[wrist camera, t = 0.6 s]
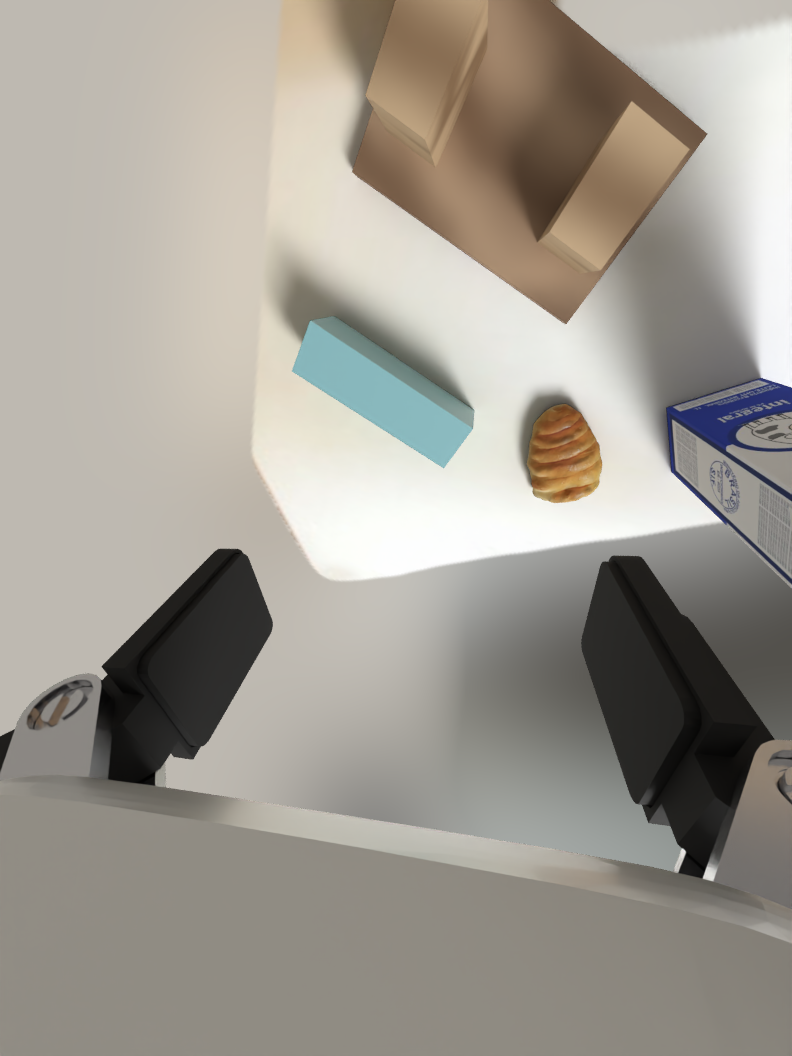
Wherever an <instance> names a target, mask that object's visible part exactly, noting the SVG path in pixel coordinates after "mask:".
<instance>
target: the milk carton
mask: <svg viewBox="0 0 792 1056" xmlns="http://www.w3.org/2000/svg"><path fill="white" fill-rule="evenodd" d="M666 410H667V422H668V435H669V447H670V459H671V471H672V473H673V474H674V475H675V476H676V477H677V478H678V479H679V480H680V481H681V482H682V483H683V484H684V485H686V486H687V487H688V488H689V489H690V490H691V491H692V492H693V493H694V494H695V495H696V496H697V497H698V498H699V499H700V500H701V501H702V502H703V503H704V504H705V505H706V506H707V507H708V508H709V509H710V510H711V511H712V512H713V513H714V514H715V515H717V516H718V517H719V518H720V519H721V520H722V521H723V522H724V523H725V524H726V525H727V526H728V527H729V528H730V529H731V530H732V531H733V532H734V533H735V534H736V535H737V536H738V537H739V538H740V539H741V540H742V541H743V542H744V543H746V545H748V546H749V547H750V548H751V549H752V550H753V551H754V552H755V553H756V554H757V555H758V556H759V557H760V558H761V559H762V560H763V561H764V562H765V563H766V564H767V565H768V566H769V567H770V568H771V569H772V570H773V571H774V572H776V574H777V575H779V576H780V577H781V578H782V579H783V580H784V581H785V582H786V583H787V584H788V585H789V586H790V587H791V588H792V388H791V387H788V386H785V385H782V384H778V383H775V382H772V381H769V380H766V379H763V378H760V379H756V380H753V381H750V382H747V383H744V384H740V385H737V386H734V387H731V388H728V389H725V390H721V391H718V392H715V393H712V394H709V395H706V396H702V397H699V398H696V399H693V400H690V401H686V402H683V403H680V404H677V405H674V406H671V407H668V408H666Z"/></svg>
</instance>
